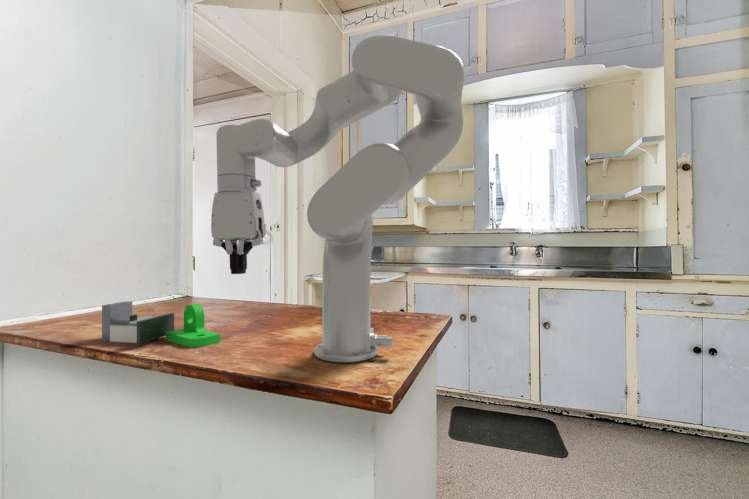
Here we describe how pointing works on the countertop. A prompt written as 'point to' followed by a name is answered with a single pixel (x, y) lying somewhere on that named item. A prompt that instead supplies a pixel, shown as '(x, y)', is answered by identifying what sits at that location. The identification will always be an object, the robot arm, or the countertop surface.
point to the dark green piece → (152, 326)
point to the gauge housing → (118, 323)
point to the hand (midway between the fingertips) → (238, 273)
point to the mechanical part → (193, 329)
